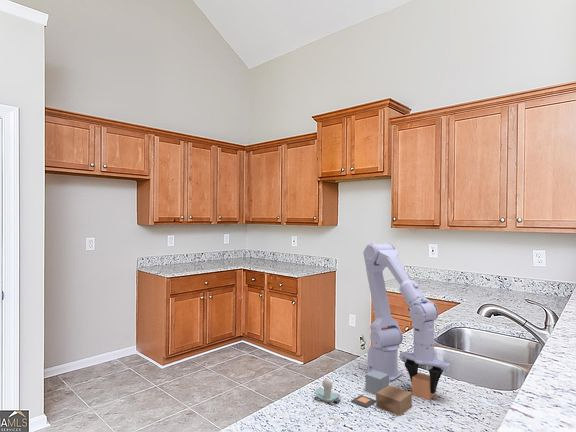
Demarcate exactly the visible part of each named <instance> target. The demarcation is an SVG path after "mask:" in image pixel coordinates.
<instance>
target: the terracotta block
mask: <svg viewBox="0 0 576 432" xmlns="http://www.w3.org/2000/svg"><path fill="white" fill-rule="evenodd" d="M430 387H431V381H430V374H426V373H423V372H419V371H418V374H416V375H415V376H413V377H412V383H411V393H412V396H413V395H414V396H416V397H419V398H422V399H425V400H428V401H430V400H431V399H432V398H433V397H435V396H436V395H437V393H436V392H437V391H436V392H435V393H434V394H432V393H431V390H430Z"/></svg>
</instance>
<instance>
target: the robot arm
mask: <svg viewBox="0 0 576 432" xmlns="http://www.w3.org/2000/svg"><path fill="white" fill-rule="evenodd" d="M362 253H363V258H364V259H363V260H364V264H365V265H364V266H365V269H366V271H365V272H366V276H367V281H368V288H369V292H370V298H371V302H372V308H373V312H374V319H375V320H374V321H372V323H371V324H370V326H369V329H370V335H369V337H370V338H369V339H370V342H371V345H370V346H369V348H368V349H367V350H368V351H367V370H366V373H365V374H367V373H369V372H371V371H373V370H376V371H379V372H383V373H386V374H389V381H391V382H392V381H394V380H396V379H398V378H399V377H401V376H402V375H404V374H403V372H402V371H398V366H399V363H398V362H399V360H404V361H405V362H404V367H405V369H406V370H407V373H408V375H409V378H410V382H411V384H412V377H413V376H415V375H416V374H418V373H419V365H423V366H427V367H431V368H429V370H428V373H429V374H428V375H430V381H431V387H430V390H431V393H432V394H434V393H435V392H437V388H438V387H437V386H438V383H439V381H440V378H441V376H442V374H443V372H445V373H449V372H450V371H451V363H448V362H446V361H442V360H440V359H439V358H436V357H435V321H436V320H438V317H439V309H438V306H437V305H436V303H435V302H433V301H431V300H429V299H428V298H427V297H426V296H425V295H424V293H423V291H422V290H421V289H420V285H419V284H418V283H417V281H415V280H411V279H410V278H409V276H408V274H407V272H406V270H405V268H404V266H403V265H402V262H401V261H400V258H398V257H399V251H398V250H397V248H396V245H394V244H393V243H391V242H389V243H368V244H367V245H366V246H365V248H364V250H363V252H362ZM385 268H387V269H388V270H389V271H390V273H391V274H392V276H393V277H394V279H395V280H396V281H397V282H398V284H399V292H400V294H401V297H403V299H404V301H405V303H406V304H407V305H408V307H409V311H408V314H409V317H410V320H411V325H412V328H413V352H407V351H402V350H401V352H399V355H398V350H399V348H400V345H401V344H402V343H403V339H404V336H403V332H402V330H401V328H400V325H399V322H398V321H397V320H396V319H394V318H393V317H392V314H391V313H392V312H391V308H390V303H389V298H388V293H387V289H386V283H385V279H384V277H385V276H384V274H383V273H384V270H385ZM398 356H399V360H398Z"/></svg>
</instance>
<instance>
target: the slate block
mask: <svg viewBox="0 0 576 432" xmlns="http://www.w3.org/2000/svg"><path fill="white" fill-rule="evenodd" d="M389 381H390V380H389V374H386V373H383V372H379V371H376V370H373V371H371V372H369V373H365V388H364V389H365V392H366V393H367V392H368V393H370V394H372V395H375V396H376V393H377V392H378V391H380V390H382V389H383V388H385V387H387V386H388V385H390V382H389Z"/></svg>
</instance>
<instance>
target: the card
mask: <svg viewBox="0 0 576 432" xmlns="http://www.w3.org/2000/svg"><path fill="white" fill-rule="evenodd" d="M350 401H351V403H353V404H355V405H359V406H360V407H362V408H365V409H368V408H369V407H371V406H372V405H374V404H376V399H373V398H371V397H369V396H365V395H363V394H360V395H357V397H355V398H353V399H351V400H350Z"/></svg>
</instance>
